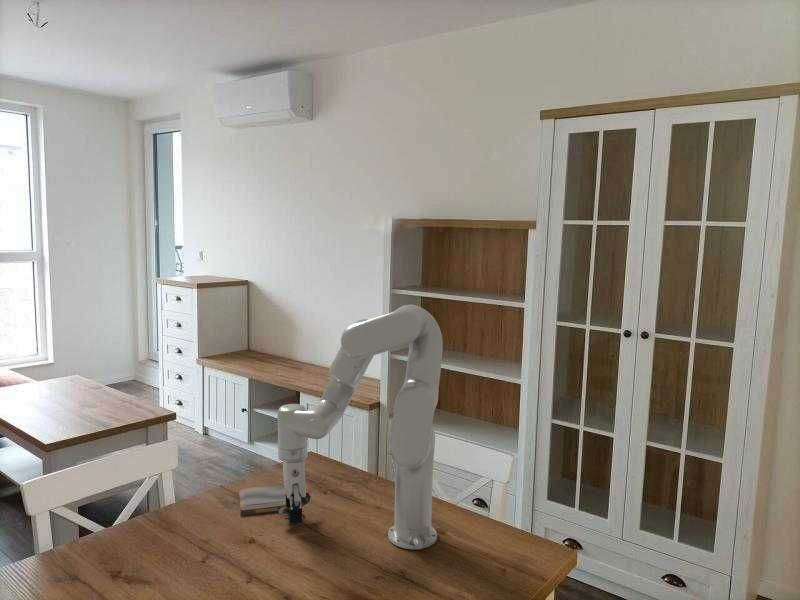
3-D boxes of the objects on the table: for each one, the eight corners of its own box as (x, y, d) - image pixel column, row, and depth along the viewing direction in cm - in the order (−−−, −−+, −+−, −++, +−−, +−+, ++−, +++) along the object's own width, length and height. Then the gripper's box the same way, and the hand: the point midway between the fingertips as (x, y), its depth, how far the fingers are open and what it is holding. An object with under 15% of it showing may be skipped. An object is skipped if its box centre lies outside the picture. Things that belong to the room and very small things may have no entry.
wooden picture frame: (292, 510, 164) (292, 504, 164) (240, 516, 160) (240, 510, 160) (286, 488, 178) (286, 483, 178) (239, 493, 174) (239, 488, 174)
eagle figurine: (310, 522, 153) (317, 501, 162) (294, 502, 152) (301, 482, 160) (287, 535, 155) (295, 514, 163) (271, 516, 153) (280, 495, 162)
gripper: (311, 462, 147) (312, 528, 149) (302, 439, 164) (303, 499, 166) (281, 465, 145) (282, 532, 147) (275, 442, 162) (276, 502, 163)
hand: (293, 514), depth 156 cm, fingers closed on eagle figurine, 8 cm apart
